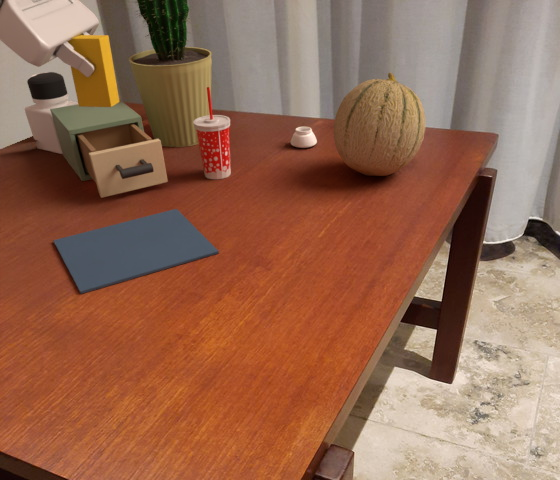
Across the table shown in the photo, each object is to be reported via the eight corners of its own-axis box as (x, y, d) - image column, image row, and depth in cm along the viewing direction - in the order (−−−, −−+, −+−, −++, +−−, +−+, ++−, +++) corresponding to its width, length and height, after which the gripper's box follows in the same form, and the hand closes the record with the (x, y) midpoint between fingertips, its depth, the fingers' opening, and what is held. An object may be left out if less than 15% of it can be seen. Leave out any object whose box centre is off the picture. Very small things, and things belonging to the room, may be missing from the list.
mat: (80, 294, 69) (80, 291, 69) (53, 242, 80) (53, 240, 80) (219, 253, 76) (218, 250, 76) (177, 210, 86) (176, 208, 86)
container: (92, 142, 112) (74, 71, 104) (62, 155, 107) (40, 81, 99) (66, 137, 115) (46, 67, 107) (36, 148, 111) (13, 77, 102)
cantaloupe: (324, 186, 91) (326, 88, 82) (340, 155, 102) (344, 64, 92) (415, 193, 88) (428, 91, 78) (422, 160, 99) (435, 66, 89)
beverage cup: (227, 165, 100) (219, 80, 91) (240, 176, 96) (232, 88, 87) (195, 171, 98) (183, 85, 89) (207, 183, 94) (196, 94, 85)
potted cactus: (201, 120, 120) (180, -53, 101) (233, 140, 110) (216, -49, 90) (133, 134, 115) (97, -46, 95) (160, 156, 105) (126, -41, 85)
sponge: (111, 107, 84) (99, 38, 78) (78, 106, 84) (64, 38, 79) (119, 102, 87) (108, 35, 81) (88, 101, 87) (74, 34, 82)
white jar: (298, 139, 109) (285, 147, 106) (298, 123, 107) (285, 131, 104) (321, 142, 107) (308, 151, 104) (321, 126, 105) (308, 134, 102)
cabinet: (150, 166, 101) (141, 116, 96) (82, 181, 97) (68, 130, 91) (126, 143, 111) (117, 97, 105) (63, 156, 107) (49, 109, 101)
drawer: (176, 190, 90) (170, 148, 86) (108, 207, 86) (97, 163, 82) (142, 157, 102) (134, 119, 98) (81, 171, 98) (70, 131, 94)
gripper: (37, -2, 86) (111, 68, 92) (-33, 23, 71) (61, 104, 77) (56, -38, 83) (132, 36, 88) (-14, -20, 68) (83, 68, 73)
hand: (99, 68), depth 82 cm, fingers closed on sponge, 3 cm apart
